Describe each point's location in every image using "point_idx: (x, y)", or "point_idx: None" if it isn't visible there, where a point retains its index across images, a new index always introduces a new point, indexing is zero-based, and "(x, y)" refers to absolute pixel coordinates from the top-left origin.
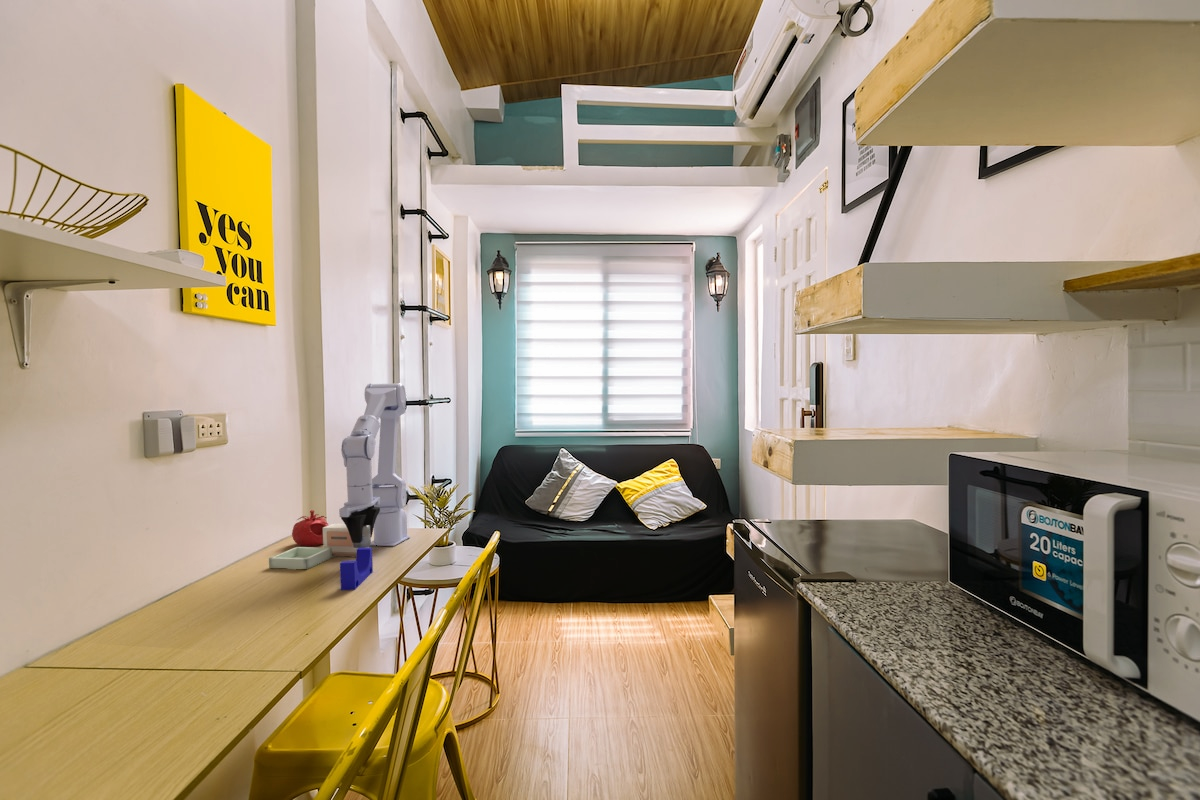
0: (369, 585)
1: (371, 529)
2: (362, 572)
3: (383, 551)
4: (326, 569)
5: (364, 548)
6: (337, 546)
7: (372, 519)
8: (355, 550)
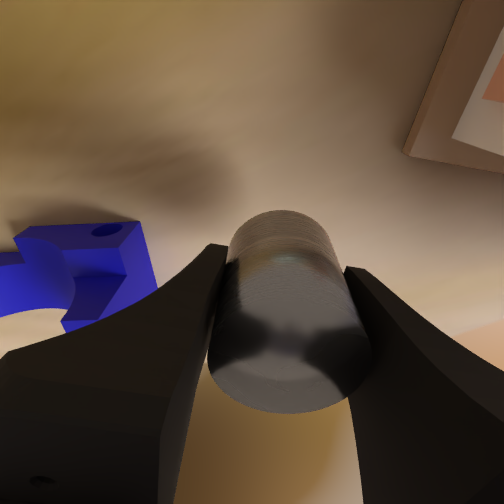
0: (19, 323)
1: None
2: (60, 299)
3: (478, 238)
4: (181, 45)
5: None
6: None
7: (359, 456)
8: (468, 115)
